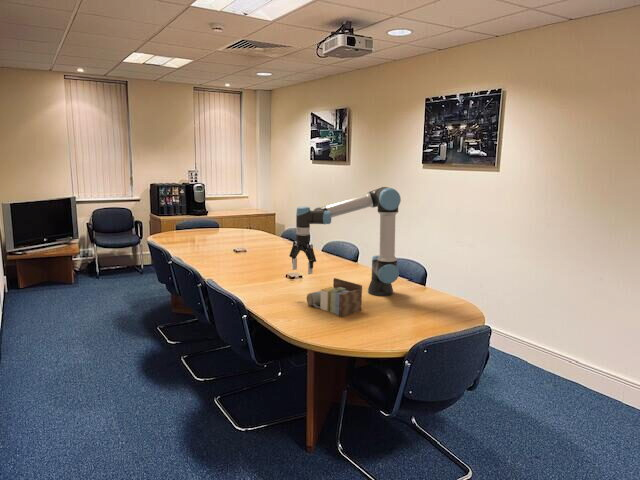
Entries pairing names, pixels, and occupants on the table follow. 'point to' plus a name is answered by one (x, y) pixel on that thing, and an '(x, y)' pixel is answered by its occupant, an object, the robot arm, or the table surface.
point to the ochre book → (325, 299)
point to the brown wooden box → (345, 297)
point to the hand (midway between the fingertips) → (302, 271)
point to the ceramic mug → (314, 299)
